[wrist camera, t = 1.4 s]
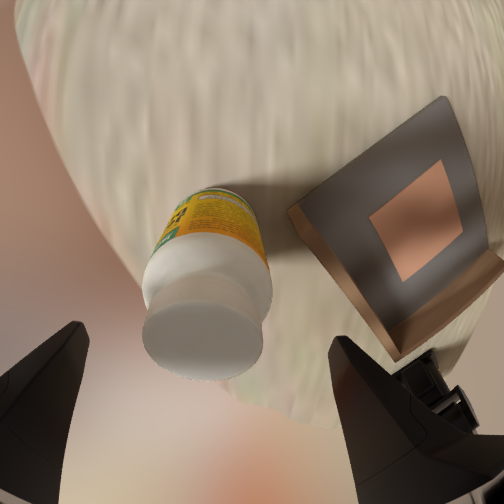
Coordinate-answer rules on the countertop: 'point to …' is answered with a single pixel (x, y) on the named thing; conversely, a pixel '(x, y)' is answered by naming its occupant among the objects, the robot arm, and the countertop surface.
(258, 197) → the countertop surface
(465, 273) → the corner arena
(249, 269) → the supplement bottle
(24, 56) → the countertop surface
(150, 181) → the countertop surface
